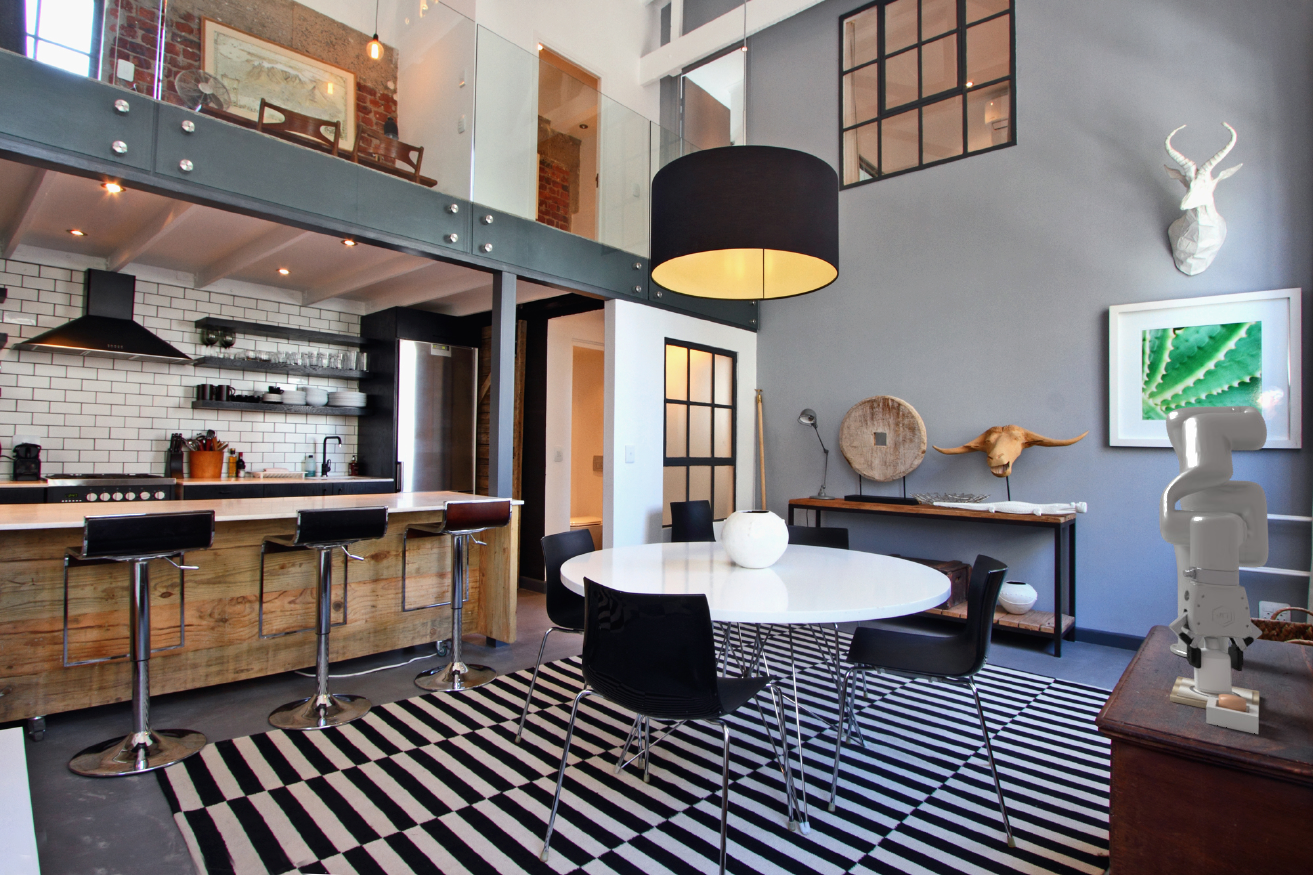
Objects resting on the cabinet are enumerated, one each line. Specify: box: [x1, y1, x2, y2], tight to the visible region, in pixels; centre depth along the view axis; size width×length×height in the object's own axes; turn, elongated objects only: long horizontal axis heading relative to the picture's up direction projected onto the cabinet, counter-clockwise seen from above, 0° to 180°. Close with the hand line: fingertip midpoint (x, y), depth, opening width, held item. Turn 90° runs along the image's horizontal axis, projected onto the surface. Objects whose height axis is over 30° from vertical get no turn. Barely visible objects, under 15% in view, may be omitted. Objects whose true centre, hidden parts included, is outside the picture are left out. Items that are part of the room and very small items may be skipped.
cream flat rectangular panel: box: [1169, 676, 1260, 709], centre depth 134 cm, size 16×13×1 cm
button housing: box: [1205, 696, 1260, 735], centre depth 122 cm, size 7×7×3 cm
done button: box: [1219, 694, 1246, 712], centre depth 122 cm, size 4×4×2 cm
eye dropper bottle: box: [1193, 636, 1233, 694], centre depth 134 cm, size 4×6×12 cm
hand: (1214, 666), depth 134 cm, fingers open, 6 cm apart
